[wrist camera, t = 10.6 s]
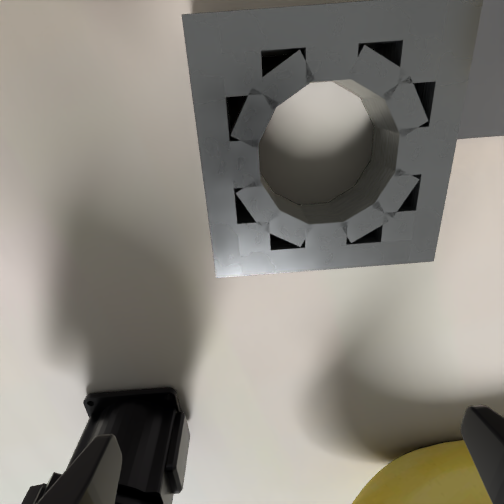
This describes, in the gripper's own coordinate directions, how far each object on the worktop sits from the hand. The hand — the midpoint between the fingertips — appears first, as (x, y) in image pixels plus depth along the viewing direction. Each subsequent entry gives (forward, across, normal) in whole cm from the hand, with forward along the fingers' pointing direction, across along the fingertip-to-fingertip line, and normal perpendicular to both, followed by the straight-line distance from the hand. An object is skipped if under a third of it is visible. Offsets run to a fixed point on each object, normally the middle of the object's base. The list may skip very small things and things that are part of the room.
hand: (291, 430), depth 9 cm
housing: (+12, -3, -5) cm, 13 cm away
